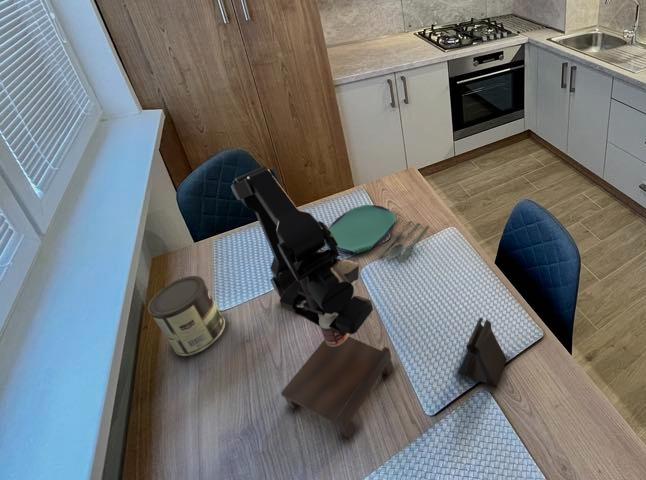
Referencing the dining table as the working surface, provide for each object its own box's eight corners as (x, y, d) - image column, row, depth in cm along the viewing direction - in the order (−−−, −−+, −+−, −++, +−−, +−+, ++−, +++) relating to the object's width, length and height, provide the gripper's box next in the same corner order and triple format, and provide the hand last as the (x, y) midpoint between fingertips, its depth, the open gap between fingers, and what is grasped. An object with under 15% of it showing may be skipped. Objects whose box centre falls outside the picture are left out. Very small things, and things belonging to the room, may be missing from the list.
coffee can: (209, 309, 103) (187, 269, 97) (234, 324, 99) (214, 284, 93) (163, 345, 95) (137, 305, 88) (190, 364, 91) (164, 323, 84)
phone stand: (506, 360, 89) (504, 324, 84) (496, 388, 84) (493, 352, 79) (469, 347, 92) (465, 312, 87) (457, 373, 87) (452, 338, 82)
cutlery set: (359, 203, 138) (358, 198, 137) (434, 226, 127) (433, 220, 126) (313, 245, 121) (311, 239, 120) (395, 275, 110) (393, 269, 109)
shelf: (287, 407, 82) (277, 387, 79) (337, 343, 94) (330, 323, 91) (349, 440, 77) (341, 420, 73) (394, 368, 88) (389, 348, 85)
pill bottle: (341, 349, 83) (332, 322, 79) (321, 345, 84) (310, 318, 80) (354, 327, 87) (345, 301, 84) (334, 324, 88) (325, 297, 85)
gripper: (382, 258, 82) (395, 310, 88) (312, 237, 88) (328, 287, 95) (344, 305, 72) (361, 359, 79) (268, 277, 78) (290, 330, 85)
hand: (335, 330), depth 85 cm, fingers closed on pill bottle, 5 cm apart
